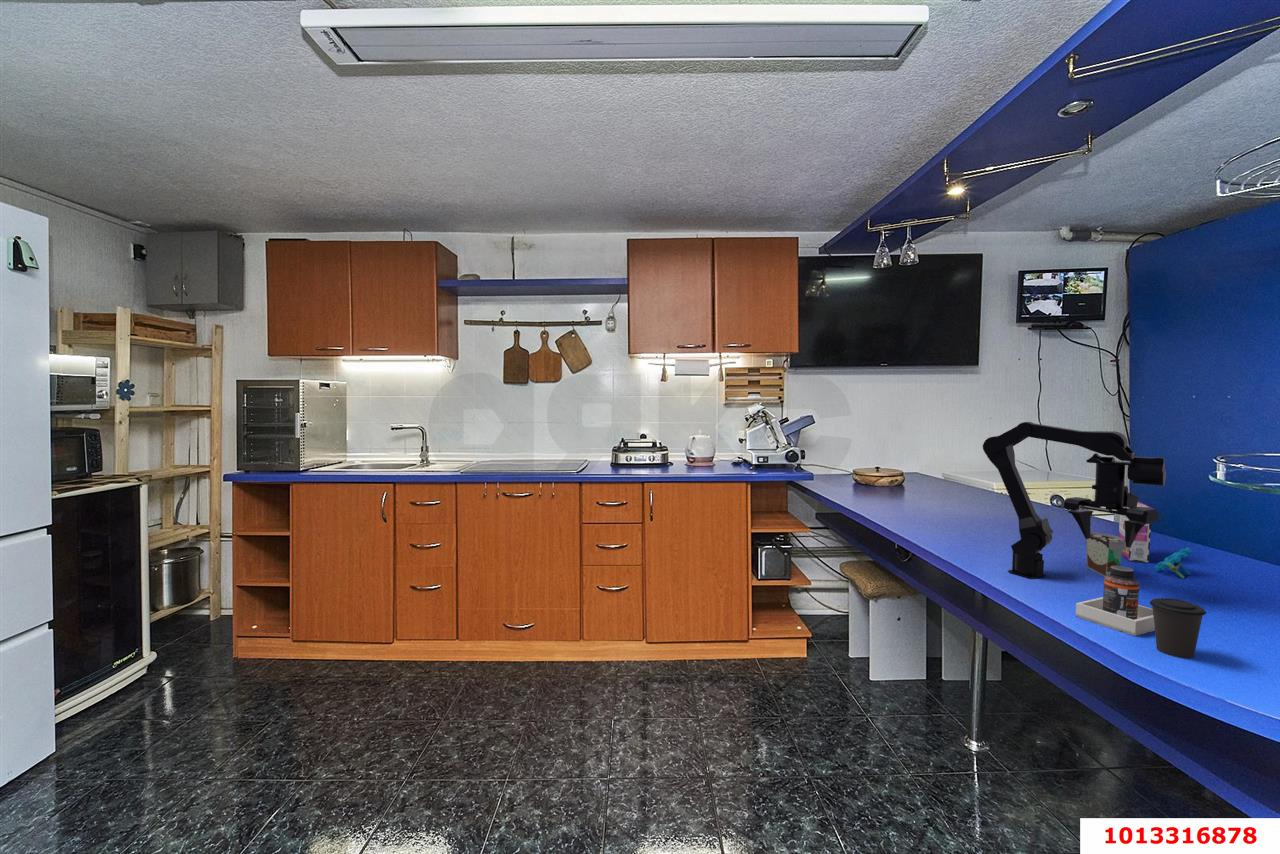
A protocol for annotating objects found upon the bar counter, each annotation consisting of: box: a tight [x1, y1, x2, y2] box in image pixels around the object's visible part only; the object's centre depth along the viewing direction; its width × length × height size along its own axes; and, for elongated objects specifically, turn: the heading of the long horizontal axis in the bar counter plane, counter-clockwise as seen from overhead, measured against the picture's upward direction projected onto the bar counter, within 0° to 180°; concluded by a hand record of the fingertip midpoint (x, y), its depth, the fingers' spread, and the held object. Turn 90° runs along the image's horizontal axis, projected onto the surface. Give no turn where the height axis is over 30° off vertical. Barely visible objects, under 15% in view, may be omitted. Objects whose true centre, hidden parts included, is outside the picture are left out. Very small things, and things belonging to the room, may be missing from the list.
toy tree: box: [1153, 546, 1193, 579], centre depth 159 cm, size 11×6×10 cm
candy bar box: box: [1118, 501, 1152, 564], centre depth 175 cm, size 11×5×16 cm, turn 155°
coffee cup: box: [1149, 597, 1207, 659], centre depth 112 cm, size 8×8×10 cm
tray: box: [1075, 596, 1155, 637], centre depth 127 cm, size 11×11×3 cm
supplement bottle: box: [1102, 565, 1140, 620], centre depth 127 cm, size 6×6×11 cm
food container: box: [1084, 531, 1126, 578], centre depth 161 cm, size 12×6×10 cm, turn 168°
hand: (1107, 542), depth 147 cm, fingers open, 9 cm apart
